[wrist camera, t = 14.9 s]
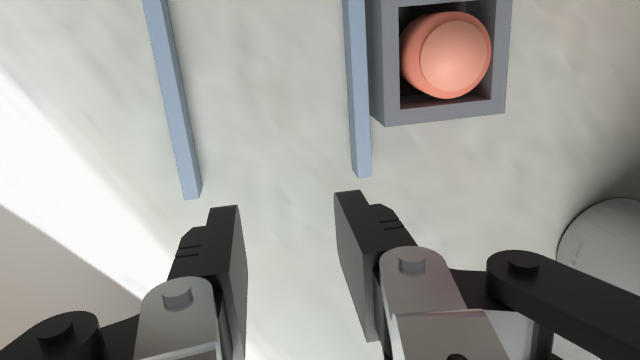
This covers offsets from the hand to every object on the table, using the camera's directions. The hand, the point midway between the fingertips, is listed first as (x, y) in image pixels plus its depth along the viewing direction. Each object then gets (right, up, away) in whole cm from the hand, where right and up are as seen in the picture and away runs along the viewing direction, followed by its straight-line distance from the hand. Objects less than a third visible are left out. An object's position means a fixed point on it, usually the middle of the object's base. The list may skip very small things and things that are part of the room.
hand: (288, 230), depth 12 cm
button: (+8, +10, +17) cm, 21 cm away
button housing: (+8, +10, +18) cm, 22 cm away
